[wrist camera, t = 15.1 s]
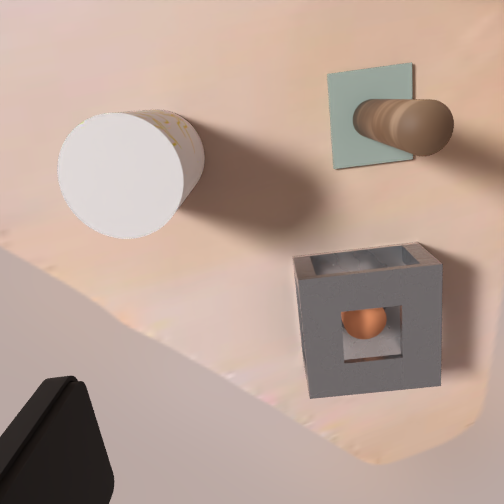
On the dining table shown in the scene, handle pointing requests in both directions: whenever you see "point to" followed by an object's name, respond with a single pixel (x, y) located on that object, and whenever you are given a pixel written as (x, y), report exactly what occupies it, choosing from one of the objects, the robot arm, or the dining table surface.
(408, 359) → the guard cage
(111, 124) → the cup
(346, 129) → the mat
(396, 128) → the brown wooden rod
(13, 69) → the dining table surface
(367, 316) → the breaker plunger
